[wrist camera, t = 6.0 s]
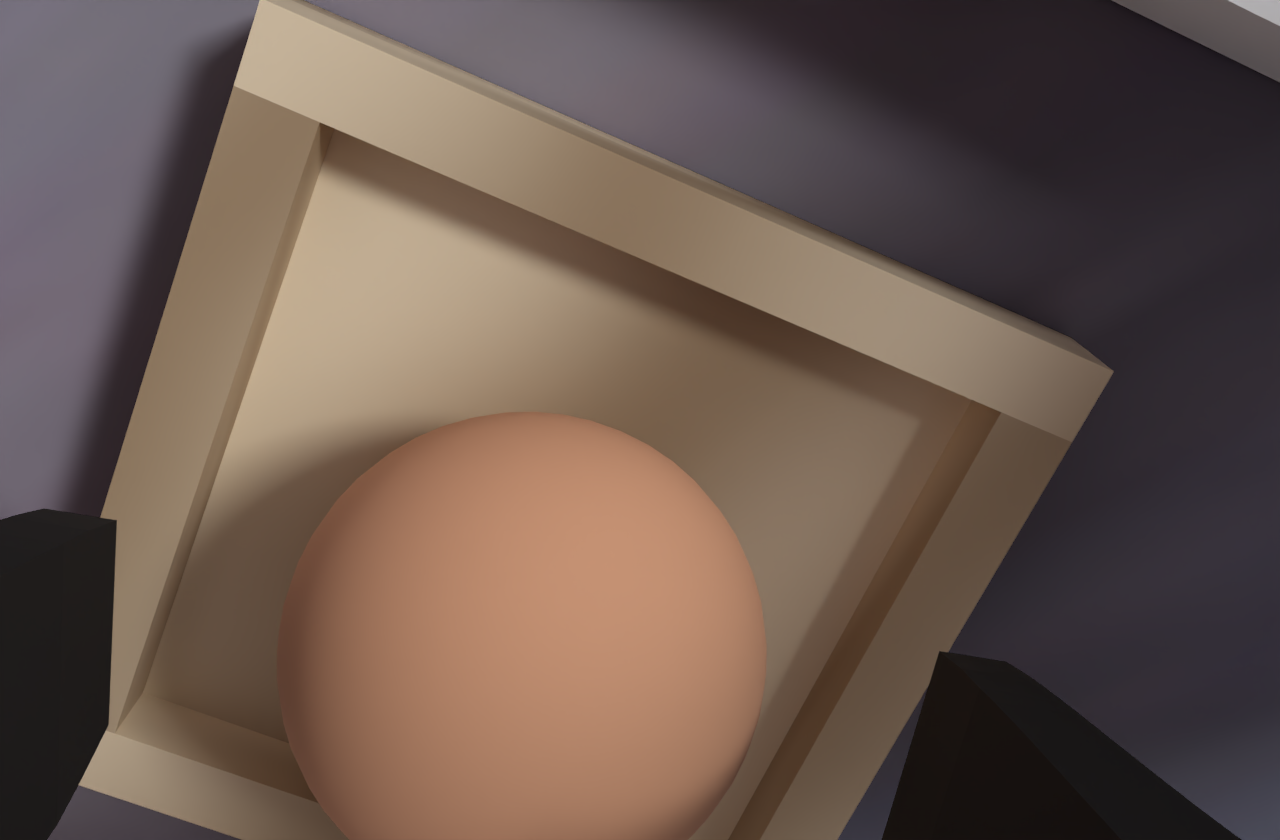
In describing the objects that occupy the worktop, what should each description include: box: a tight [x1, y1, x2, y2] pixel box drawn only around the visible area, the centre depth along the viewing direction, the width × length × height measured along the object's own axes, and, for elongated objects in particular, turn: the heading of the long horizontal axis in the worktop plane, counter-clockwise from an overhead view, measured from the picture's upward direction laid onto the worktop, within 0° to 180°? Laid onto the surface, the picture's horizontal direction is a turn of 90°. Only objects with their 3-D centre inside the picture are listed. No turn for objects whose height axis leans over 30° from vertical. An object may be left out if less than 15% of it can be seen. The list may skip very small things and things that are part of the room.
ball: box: [277, 412, 767, 840], centre depth 11 cm, size 4×4×4 cm
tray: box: [79, 0, 1114, 840], centre depth 13 cm, size 9×9×1 cm
